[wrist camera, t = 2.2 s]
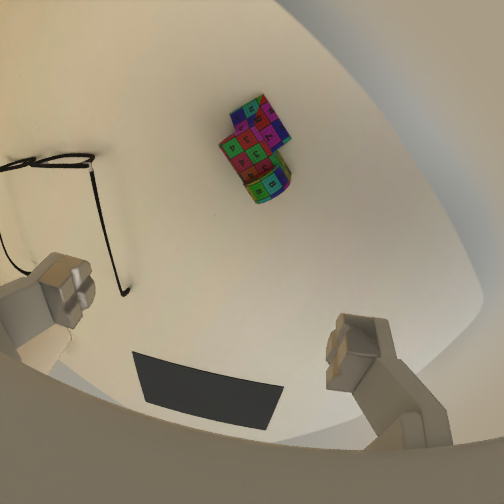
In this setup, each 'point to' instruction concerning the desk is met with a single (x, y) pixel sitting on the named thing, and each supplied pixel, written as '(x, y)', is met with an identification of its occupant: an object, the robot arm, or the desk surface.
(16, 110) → the desk surface
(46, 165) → the eyeglasses
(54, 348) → the candle
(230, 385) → the mat
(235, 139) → the block
